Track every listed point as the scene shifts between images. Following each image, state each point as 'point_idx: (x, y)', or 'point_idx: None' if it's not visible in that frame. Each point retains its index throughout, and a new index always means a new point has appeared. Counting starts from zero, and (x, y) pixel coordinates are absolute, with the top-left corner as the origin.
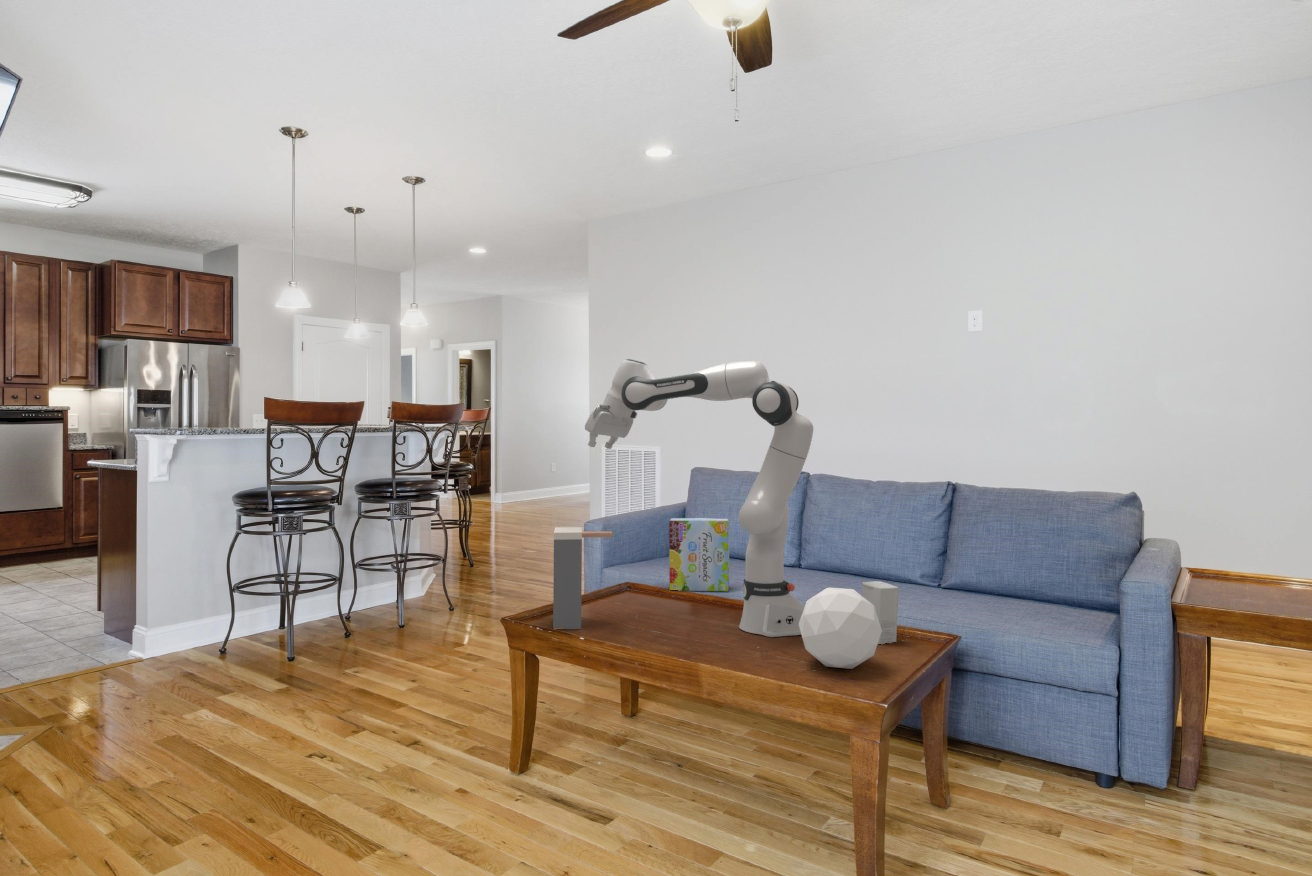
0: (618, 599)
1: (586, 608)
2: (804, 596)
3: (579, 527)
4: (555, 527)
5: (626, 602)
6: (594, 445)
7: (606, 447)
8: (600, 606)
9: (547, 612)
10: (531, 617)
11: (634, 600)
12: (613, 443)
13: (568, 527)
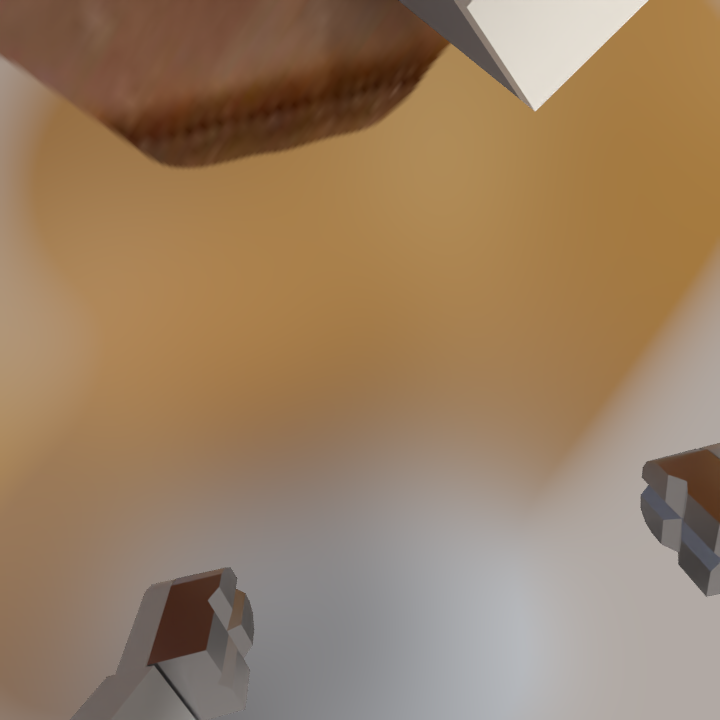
0: (67, 70)
1: (238, 45)
2: None
3: (486, 2)
4: (542, 102)
5: (57, 4)
6: (697, 470)
7: (236, 595)
8: (182, 31)
9: (354, 93)
10: (418, 77)
11: (7, 6)
12: (104, 696)
13: (514, 53)
